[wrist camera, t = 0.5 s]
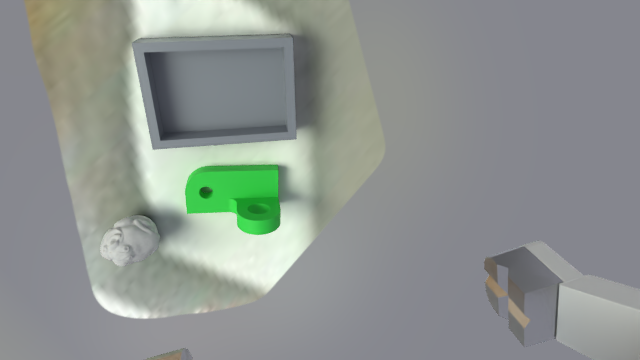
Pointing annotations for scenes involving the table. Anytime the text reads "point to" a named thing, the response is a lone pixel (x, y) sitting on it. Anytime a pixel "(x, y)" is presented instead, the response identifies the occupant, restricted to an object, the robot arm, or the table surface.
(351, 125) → the table surface
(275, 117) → the tray
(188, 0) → the table surface
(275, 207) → the mechanical part
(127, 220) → the white sculpted head
